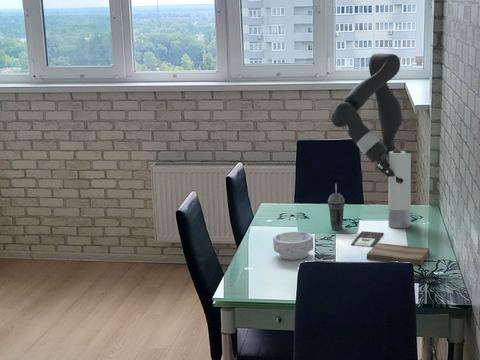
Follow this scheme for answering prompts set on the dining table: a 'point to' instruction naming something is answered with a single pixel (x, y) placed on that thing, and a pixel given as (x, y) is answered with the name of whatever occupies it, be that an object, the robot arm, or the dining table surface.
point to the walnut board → (398, 253)
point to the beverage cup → (336, 210)
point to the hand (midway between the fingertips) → (403, 181)
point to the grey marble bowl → (293, 244)
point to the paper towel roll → (397, 191)
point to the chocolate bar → (367, 239)
